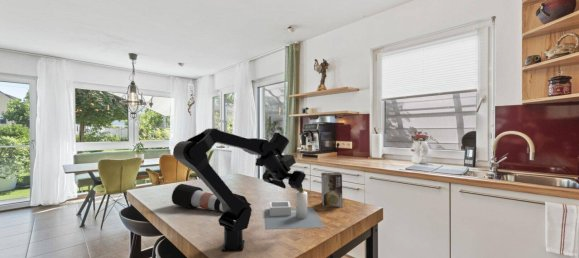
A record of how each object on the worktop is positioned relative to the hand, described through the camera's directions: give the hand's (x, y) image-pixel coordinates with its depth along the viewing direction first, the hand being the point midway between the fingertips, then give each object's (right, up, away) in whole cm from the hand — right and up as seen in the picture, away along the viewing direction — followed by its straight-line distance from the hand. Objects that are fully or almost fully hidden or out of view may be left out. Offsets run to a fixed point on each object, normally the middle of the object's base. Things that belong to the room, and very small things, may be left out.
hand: (293, 189), depth 102 cm
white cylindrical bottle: (+3, -12, +3) cm, 13 cm away
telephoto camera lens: (-39, -14, +17) cm, 45 cm away
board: (-1, -13, +3) cm, 14 cm away
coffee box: (+19, -14, +21) cm, 31 cm away
